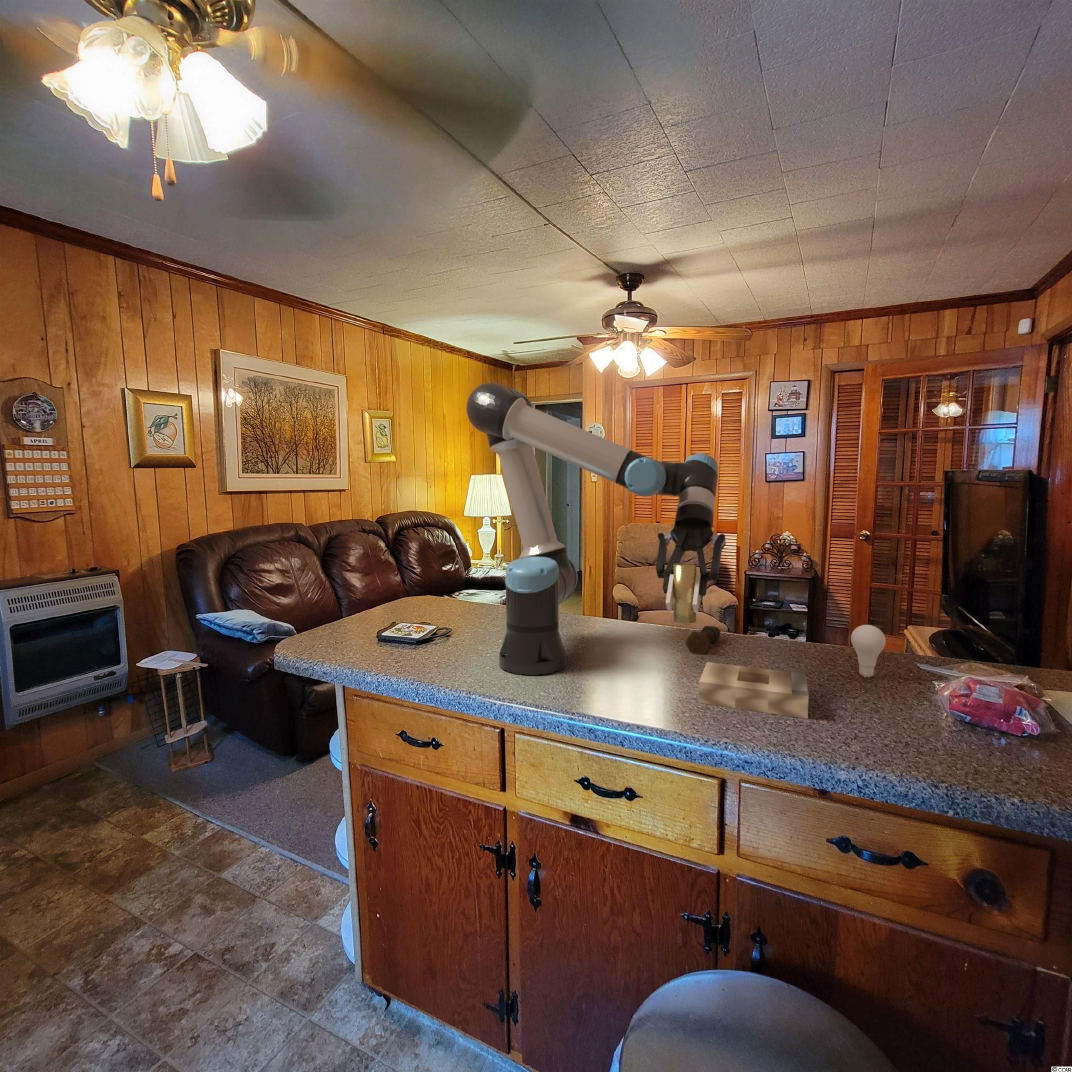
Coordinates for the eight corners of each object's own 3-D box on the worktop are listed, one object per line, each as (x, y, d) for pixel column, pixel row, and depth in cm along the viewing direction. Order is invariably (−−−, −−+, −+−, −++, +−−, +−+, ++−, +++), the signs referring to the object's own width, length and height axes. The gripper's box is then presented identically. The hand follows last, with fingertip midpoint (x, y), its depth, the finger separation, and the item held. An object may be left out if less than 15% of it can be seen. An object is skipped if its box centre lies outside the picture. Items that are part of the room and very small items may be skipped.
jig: (698, 702, 101) (699, 677, 101) (706, 681, 112) (707, 658, 112) (807, 718, 94) (808, 691, 93) (804, 694, 105) (805, 669, 104)
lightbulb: (854, 670, 118) (856, 620, 117) (887, 677, 114) (890, 625, 113) (845, 677, 114) (847, 625, 113) (878, 685, 109) (881, 630, 108)
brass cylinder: (671, 622, 105) (671, 565, 104) (675, 617, 109) (675, 562, 108) (694, 624, 103) (694, 566, 102) (697, 618, 107) (697, 562, 106)
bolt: (717, 646, 142) (699, 660, 130) (700, 634, 144) (681, 647, 132) (729, 628, 140) (712, 641, 128) (712, 617, 143) (694, 627, 130)
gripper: (738, 525, 115) (731, 621, 101) (656, 525, 122) (639, 614, 108) (737, 501, 110) (729, 599, 96) (651, 501, 117) (632, 593, 103)
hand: (681, 607), depth 102 cm, fingers closed on brass cylinder, 4 cm apart
